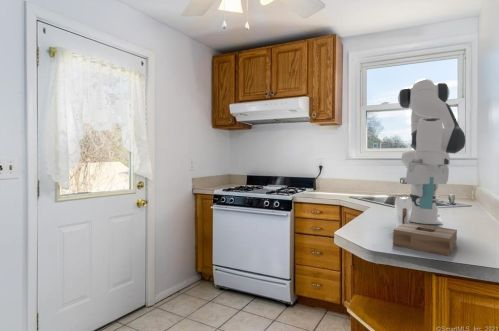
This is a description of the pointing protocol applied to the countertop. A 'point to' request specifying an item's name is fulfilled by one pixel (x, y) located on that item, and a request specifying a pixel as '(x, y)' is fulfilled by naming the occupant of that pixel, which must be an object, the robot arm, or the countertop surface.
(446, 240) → the socket block
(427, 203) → the peg
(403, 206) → the beer glass
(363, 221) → the countertop surface
